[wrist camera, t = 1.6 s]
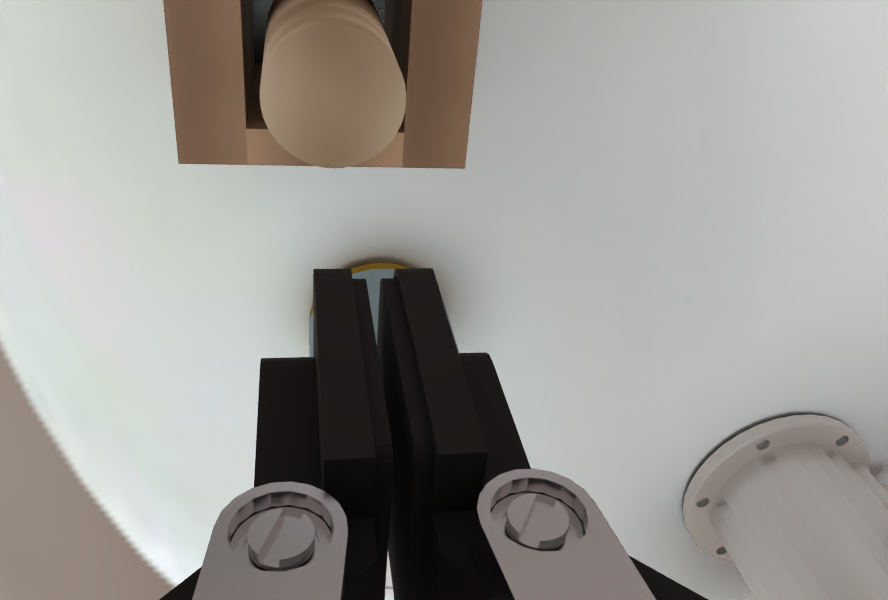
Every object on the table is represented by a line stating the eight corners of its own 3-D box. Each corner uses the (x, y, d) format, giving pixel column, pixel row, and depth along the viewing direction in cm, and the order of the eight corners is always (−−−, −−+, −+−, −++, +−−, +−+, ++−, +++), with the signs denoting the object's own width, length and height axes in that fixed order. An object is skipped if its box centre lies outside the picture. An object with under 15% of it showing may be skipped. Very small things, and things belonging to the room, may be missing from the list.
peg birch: (383, -24, 28) (410, 28, 21) (378, 90, 30) (402, 169, 23) (264, -31, 27) (257, 21, 21) (268, 86, 29) (262, 167, 23)
